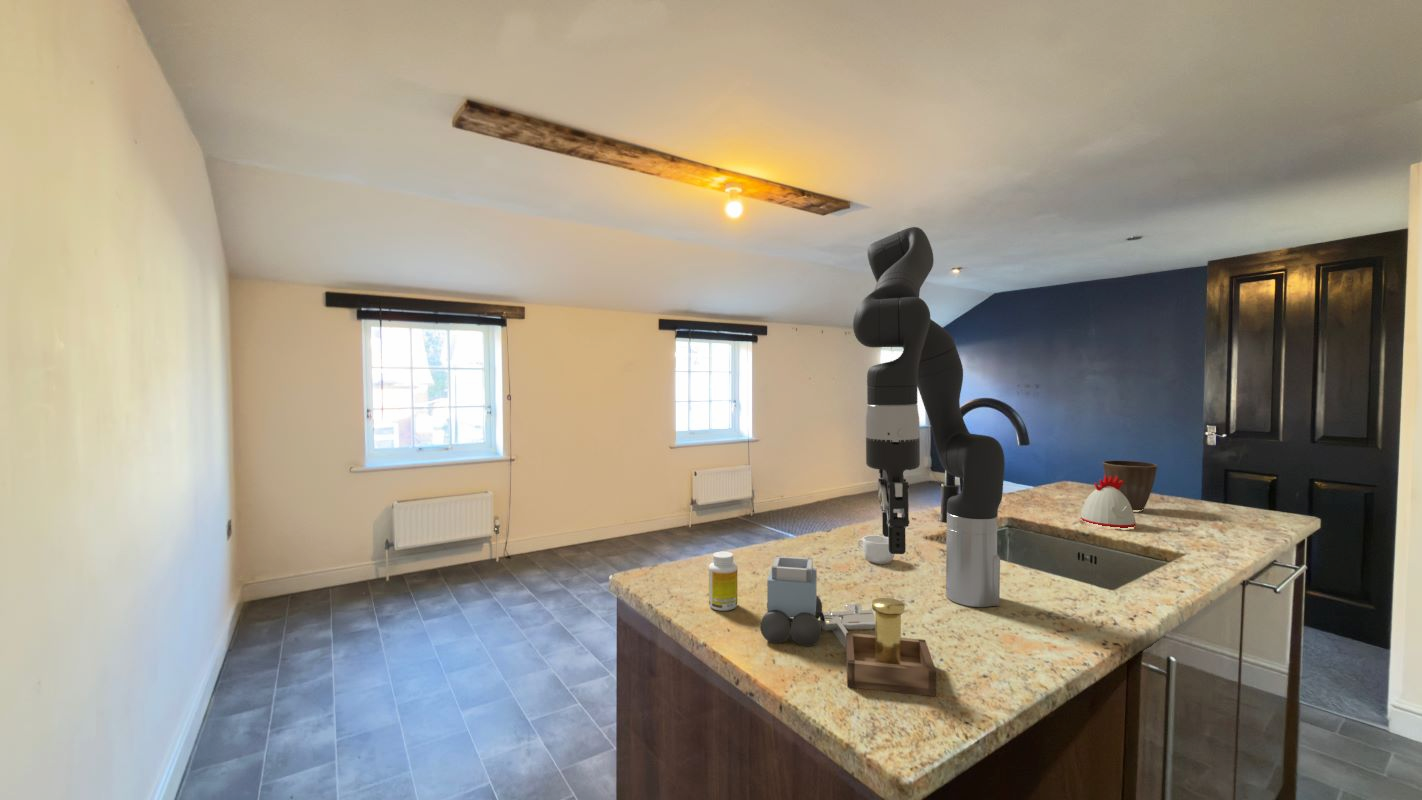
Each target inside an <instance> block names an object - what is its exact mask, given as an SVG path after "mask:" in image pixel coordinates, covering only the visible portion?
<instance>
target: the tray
mask: <svg viewBox="0 0 1422 800" xmlns="http://www.w3.org/2000/svg"><path fill="white" fill-rule="evenodd" d="M845 660H846V661H845V663H846V683H847V685H846V686H847V688H855V689H861V690H863V689H865V690H872V691H881V692H888V693H889V692H891V693H899V694H908V695H917V694H921V695H920V696H926V695H930V696H929V697H935V696H936V697H937V669H936V667H935V664H934V661H933V658H932V654H931V652H930V650H929V647H928V643H927V641H926V639H921V638H920V639H919V638H908V637H901V655H900V665H897V664H887V663H877V662H875V634H865V633H853V632H848V633H846V649H845Z"/></svg>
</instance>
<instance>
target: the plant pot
mask: <svg viewBox="0 0 1422 800" xmlns="http://www.w3.org/2000/svg"><path fill="white" fill-rule="evenodd" d="M1102 467H1103V473H1104V476H1107V478H1108V481H1109V476H1112V478H1113V482H1114V479H1115V477H1116V476H1117V477H1118V480H1119V482H1120V481H1121V480H1122V481H1123V483H1122V485H1121V487H1120V489H1119V491H1120V492H1121V493H1122V494H1123V495H1124V496H1125V497H1126V498H1127V500H1128V501H1129V503H1130V505H1131V508H1132V510H1142V509H1145V507H1146V505H1147V503H1148V501H1149V498H1150V495H1151V493H1152V490H1153V487H1154V483H1155V479H1156V475H1157V470H1158V465H1157V464H1156V463H1151V462H1145V461H1134V460H1105V461H1102Z"/></svg>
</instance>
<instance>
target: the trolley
mask: <svg viewBox="0 0 1422 800" xmlns="http://www.w3.org/2000/svg"><path fill="white" fill-rule="evenodd" d="M813 560H814V559H813V558H812V557H800V556H799V557H797V556H784V555H783V556H782V555H781V556H780V555H776V556H775V557H774V561H773V563H772V566H771V569H770V571H769V574H768V577H767V585H766V586H767V588H766V589H767V590H766V591H767V596H766V597H767V599H766V600H767V601H766V608H767V610H766V613H765V614H764V615H763V617H762V618H761V622H760V626H759V628H760V633H761V635H762V637H763V638H764V639H765V640H766V641H768V642H769V643H771V644H782V643H783V642H785V641H787V639H789V637H790V635H791V638H792V639H793V641H794V642H795V644H798V645H800V646H803V647H811V646H812V647H813V646H814V645H815V644H817V643H818V642H819V640H820V638H821V634H822V627H821V623H820V614H821V612H823V602H822V599H821V598H820V597H819V596H818V593H817V584H818V583H817V578H818V577H817V576H818V575H817V574H818V573H817V572H818V570H817V568H814V567H813V565H814V564H813V562H814V561H813ZM790 618H792V619H790Z"/></svg>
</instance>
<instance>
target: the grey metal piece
mask: <svg viewBox="0 0 1422 800" xmlns="http://www.w3.org/2000/svg"><path fill="white" fill-rule="evenodd" d="M862 608H863V607H862V604H861V603H858V602H856V603H855V604H846V605H844V609H845V610H841V611H839V610H838V611H829V612H828V611H822V612H821V614H820V617H819V622H820V624H821V626H822V627H821V629H822V630H823V631H824V632H827V631H828V632H829V631H832V632H833V633H834V634H835V636H836V637H837V639H838V640H839V642H840V643H841V645H842V646H843V647H844V649H845V650H846V633H849V631H852V630H853V631H856V630H857V631H858V630H874V629H875V613H874V612H873V611H872V610H871V609H868V610H867V609H865V610H863V609H862Z"/></svg>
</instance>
